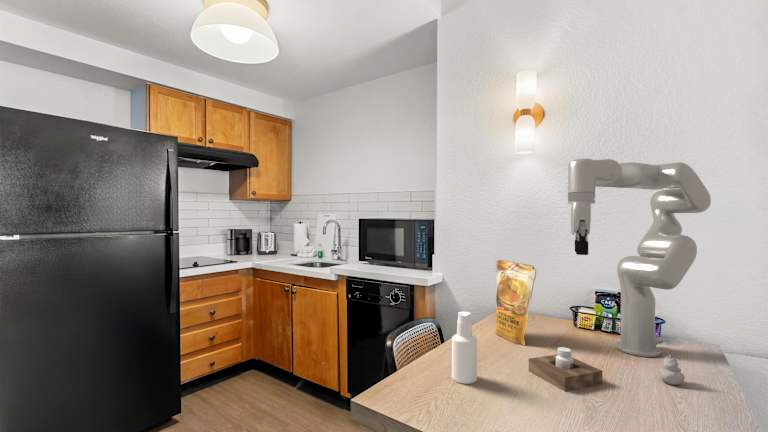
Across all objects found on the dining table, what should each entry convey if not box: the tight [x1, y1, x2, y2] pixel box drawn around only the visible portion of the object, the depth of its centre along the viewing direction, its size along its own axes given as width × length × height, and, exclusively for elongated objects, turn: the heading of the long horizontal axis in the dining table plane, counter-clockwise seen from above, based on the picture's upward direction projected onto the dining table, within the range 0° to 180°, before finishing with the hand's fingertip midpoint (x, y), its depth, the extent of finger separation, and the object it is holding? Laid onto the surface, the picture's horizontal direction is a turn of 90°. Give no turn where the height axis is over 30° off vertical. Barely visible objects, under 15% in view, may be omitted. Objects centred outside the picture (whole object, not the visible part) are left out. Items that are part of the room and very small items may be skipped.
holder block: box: [528, 353, 603, 392], centre depth 100 cm, size 13×13×4 cm
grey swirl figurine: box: [658, 354, 685, 386], centre depth 97 cm, size 5×7×8 cm
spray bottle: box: [451, 311, 478, 385], centre depth 99 cm, size 7×7×18 cm
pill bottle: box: [556, 346, 574, 370], centre depth 101 cm, size 4×4×8 cm
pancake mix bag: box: [494, 259, 537, 346], centre depth 133 cm, size 7×19×28 cm, turn 20°
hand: (581, 253), depth 113 cm, fingers open, 9 cm apart
